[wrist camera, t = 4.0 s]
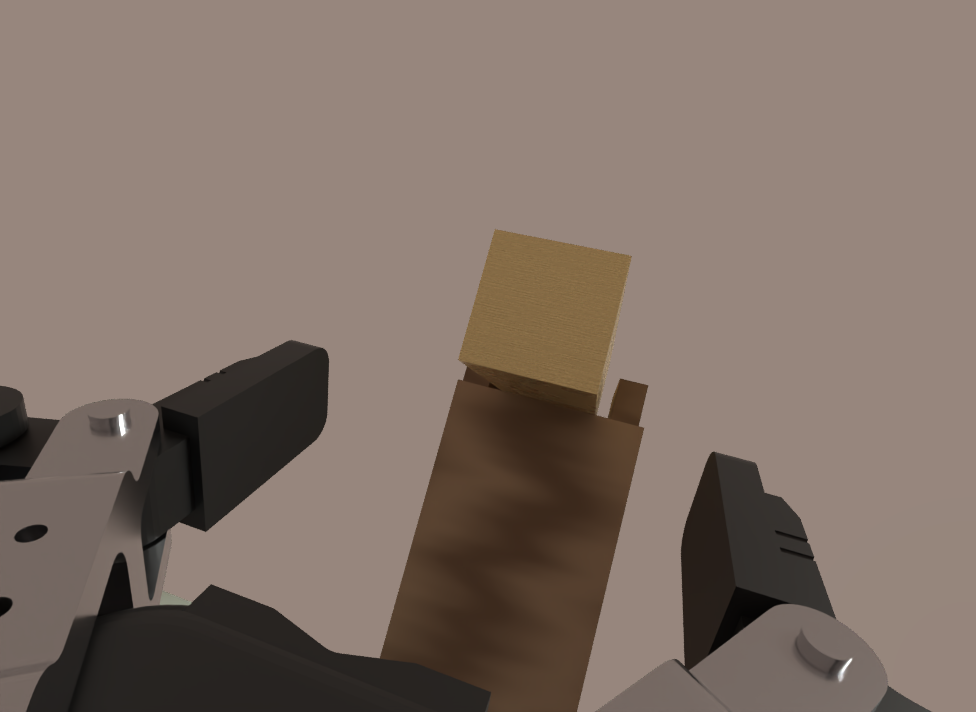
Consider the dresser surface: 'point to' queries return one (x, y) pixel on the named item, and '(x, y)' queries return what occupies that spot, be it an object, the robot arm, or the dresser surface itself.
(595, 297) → the rail
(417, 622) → the stand
